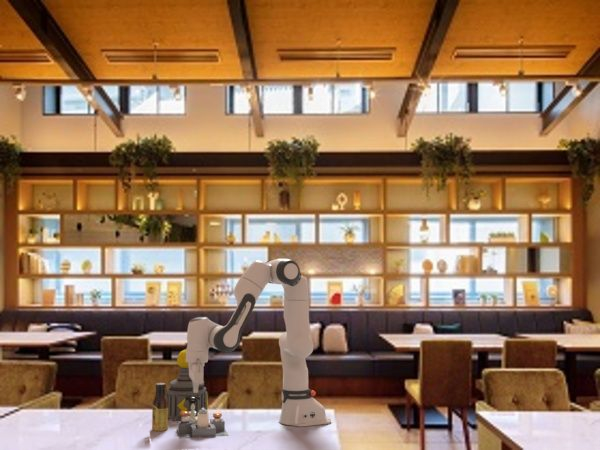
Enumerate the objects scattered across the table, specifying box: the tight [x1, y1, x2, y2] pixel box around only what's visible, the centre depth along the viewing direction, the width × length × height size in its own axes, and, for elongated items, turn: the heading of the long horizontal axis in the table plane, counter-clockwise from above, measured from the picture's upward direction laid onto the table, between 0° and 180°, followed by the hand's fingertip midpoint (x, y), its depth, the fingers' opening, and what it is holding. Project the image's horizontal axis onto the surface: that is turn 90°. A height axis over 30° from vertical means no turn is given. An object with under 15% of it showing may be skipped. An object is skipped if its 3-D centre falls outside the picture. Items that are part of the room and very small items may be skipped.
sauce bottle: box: [151, 382, 169, 432], centre depth 267 cm, size 6×6×20 cm
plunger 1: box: [180, 411, 190, 423], centre depth 264 cm, size 4×4×6 cm
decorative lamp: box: [165, 349, 209, 422], centre depth 298 cm, size 19×19×30 cm
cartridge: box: [196, 408, 210, 428], centre depth 259 cm, size 4×4×10 cm
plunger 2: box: [212, 412, 223, 421], centre depth 267 cm, size 4×4×6 cm
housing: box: [176, 418, 229, 440], centre depth 261 cm, size 19×15×5 cm
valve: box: [185, 396, 200, 424], centre depth 280 cm, size 7×7×12 cm
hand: (195, 392), depth 265 cm, fingers closed
